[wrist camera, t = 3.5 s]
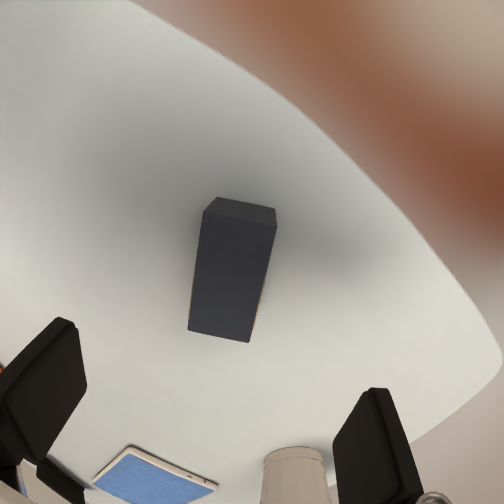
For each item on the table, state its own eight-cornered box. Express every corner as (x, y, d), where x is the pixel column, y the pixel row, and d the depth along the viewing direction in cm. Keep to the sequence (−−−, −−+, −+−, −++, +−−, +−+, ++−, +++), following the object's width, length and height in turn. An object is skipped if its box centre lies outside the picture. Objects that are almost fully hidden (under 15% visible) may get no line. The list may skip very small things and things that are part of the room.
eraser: (215, 196, 18) (202, 210, 15) (276, 208, 19) (278, 226, 15) (199, 297, 21) (186, 330, 17) (253, 308, 21) (249, 344, 17)
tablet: (130, 442, 28) (126, 450, 27) (222, 484, 30) (221, 492, 29) (91, 477, 34) (89, 483, 33) (160, 510, 36) (158, 515, 35)
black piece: (21, 459, 34) (18, 493, 25) (37, 439, 36) (35, 472, 28) (71, 489, 38) (76, 522, 29) (88, 470, 41) (95, 504, 32)
